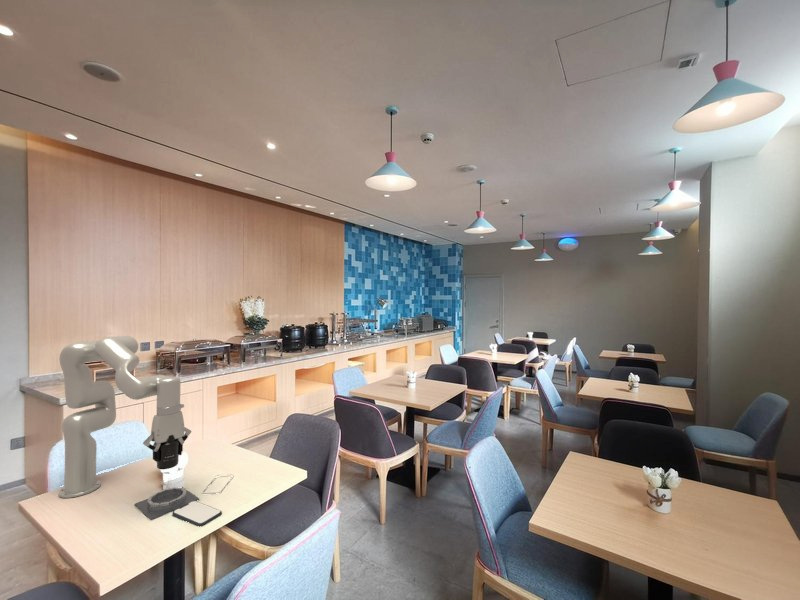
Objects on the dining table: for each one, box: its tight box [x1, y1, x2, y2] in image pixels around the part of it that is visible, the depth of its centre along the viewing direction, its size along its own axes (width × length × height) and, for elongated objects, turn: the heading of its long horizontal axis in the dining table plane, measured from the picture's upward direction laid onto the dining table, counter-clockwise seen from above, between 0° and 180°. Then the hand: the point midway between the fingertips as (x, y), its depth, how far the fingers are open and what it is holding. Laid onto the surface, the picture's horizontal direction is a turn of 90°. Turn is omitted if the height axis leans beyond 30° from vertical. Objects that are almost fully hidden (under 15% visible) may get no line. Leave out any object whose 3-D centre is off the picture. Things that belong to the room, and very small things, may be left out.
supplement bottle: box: [156, 435, 180, 470], centre depth 133 cm, size 7×7×12 cm
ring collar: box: [134, 486, 200, 521], centre depth 133 cm, size 16×16×3 cm
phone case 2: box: [200, 473, 234, 495], centre depth 146 cm, size 7×1×15 cm
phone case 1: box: [171, 501, 223, 527], centre depth 125 cm, size 9×2×16 cm
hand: (168, 457), depth 133 cm, fingers closed on supplement bottle, 6 cm apart
